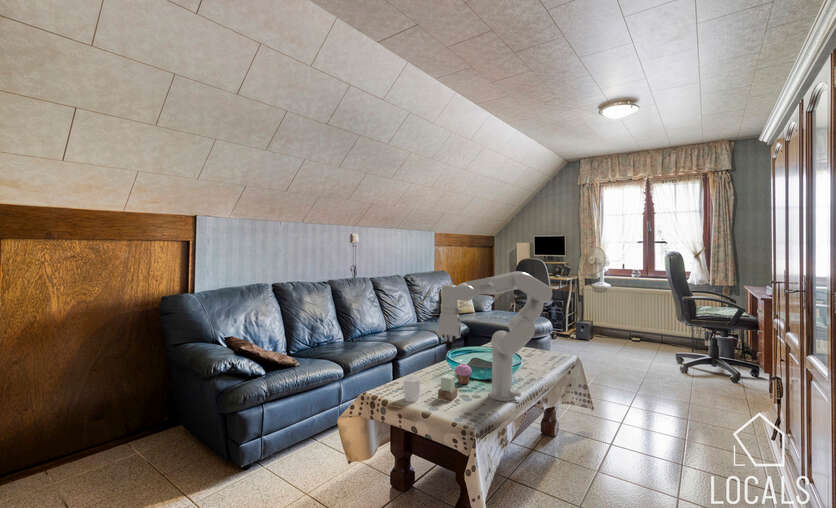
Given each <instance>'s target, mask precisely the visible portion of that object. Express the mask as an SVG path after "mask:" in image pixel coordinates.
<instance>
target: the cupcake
mask: <svg viewBox="0 0 836 508" xmlns="http://www.w3.org/2000/svg"><path fill="white" fill-rule="evenodd" d="M472 372H473V370H472V368H471V366H470V365H469V364H464V363H463V364H462V363H461V364H458V365H457V366H455V369H454V373H455V374H456V378H457V382H458V384H460V385H468V384H469V382H470V376H471V375H472Z"/></svg>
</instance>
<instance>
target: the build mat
mask: <svg viewBox="0 0 836 508" xmlns="http://www.w3.org/2000/svg"><path fill="white" fill-rule="evenodd" d="M459 397H460V396H459V395H457V397H456V398H455V399H454V400H453V401H447V400H442V399H438V397H437V398H435V399H436V400H439V401H444V402H449V403H454V402H455V401H456V400H457V399H458V398H459Z"/></svg>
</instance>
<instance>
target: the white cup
mask: <svg viewBox="0 0 836 508" xmlns="http://www.w3.org/2000/svg"><path fill="white" fill-rule="evenodd" d="M420 390H421V378H420V377H419V376H412V375H411V376H410V375H409V376H406V377H404V378H403V396H404V398H403V399H404V401H405V402H408V403H417V402H418V401H419V400H420V395H421V394H420V393H421V391H420Z"/></svg>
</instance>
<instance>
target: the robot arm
mask: <svg viewBox="0 0 836 508" xmlns="http://www.w3.org/2000/svg"><path fill="white" fill-rule="evenodd" d="M515 290H519V291H521V292H522V293H525V294H526V303H525V304H524V305H523V307H522V308H521V309H520V310H519V311H518V312H517V313H515V315H514V316H513V317H512V318H511V319H510V320H509V322H508V330H509V331H505V330H497V331H495V332H494V333H493V335H492V337H491V342H490V343H491V344H490V345H491V356H492V357H491V358H492V359H491V360H492V361H491V362H492V363H491V364H492V365H491V390H490V391H488V393H487V394H488V397H489V398H491V399H492V400H494V401H498V402H499V401H500V402H510V401H513V400H515V399H516V397H519V398H521V397H522V393H521V392H520V390H515V387H514V386H513V363H514V362H513V356H515V355H516V354H517V353H519V351H521V349H523V348H524V347H525V345H527V343H529V341H530V340H531V339H532V338H533V337H534V335H535V332H536V325H535V322H536V321H537V320H538V319H539V317H540V316H541V315H542V313H543V310H544V303H548V302H549V301H550V300H551V299H552V297H553V290H552V288H551V287H550V286H549V285H548V284H546V283H544V282H542V281H541V280H539V279H537V278H536V277H534V276H533V275H531V274H529V273H526V272H524V271H517V270H516V271H512V272H507V273H503V274H498V275H494V276H490V277H489V276H488V277H485V278H481V279H480V278H479V279H474V280H469V281H465V282H462V283H458V285H455V284H443V285H442V287H441V312H440V313H439V318H438V319H439V320H438V329H437V331H438V336H439V337H440V338H443V339H444V341H445V348H446V351H451V350H453V347H454V341H455V340H456V339H459V338H461V333H462V324H461V323H462V322H461V316H460V314H459V313H461V309H460V308H459V307H458V306H459V305H458V303H459V302H458V301H463V302H468V301H471V300H473V299H474V298H475V296H478V295H498V294H503V293H507V292H511V291H515Z"/></svg>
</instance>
